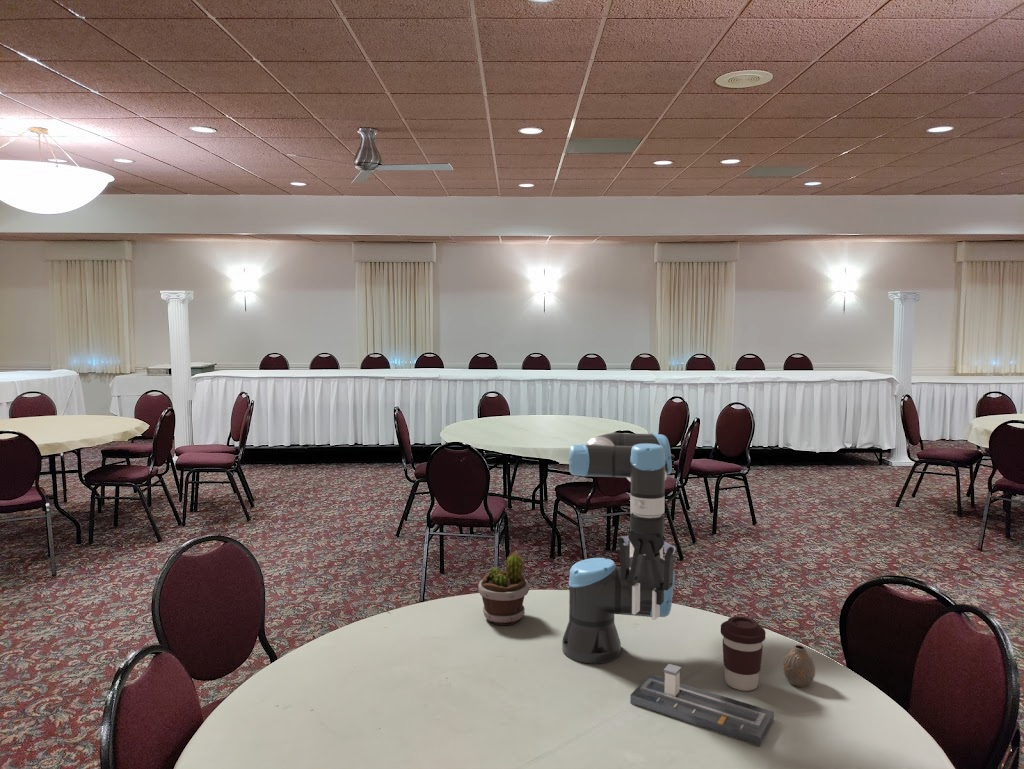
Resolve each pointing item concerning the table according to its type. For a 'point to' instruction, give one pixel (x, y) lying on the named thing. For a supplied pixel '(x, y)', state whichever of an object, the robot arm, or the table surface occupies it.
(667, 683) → the fader knob
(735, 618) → the coffee cup
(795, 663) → the vase
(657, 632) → the table surface
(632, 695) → the console
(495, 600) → the flowerpot
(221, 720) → the table surface
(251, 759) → the table surface
